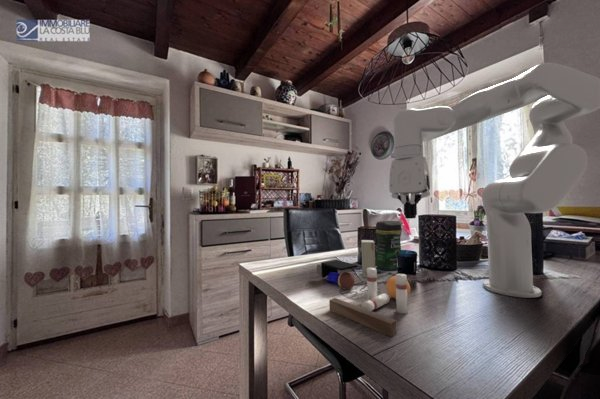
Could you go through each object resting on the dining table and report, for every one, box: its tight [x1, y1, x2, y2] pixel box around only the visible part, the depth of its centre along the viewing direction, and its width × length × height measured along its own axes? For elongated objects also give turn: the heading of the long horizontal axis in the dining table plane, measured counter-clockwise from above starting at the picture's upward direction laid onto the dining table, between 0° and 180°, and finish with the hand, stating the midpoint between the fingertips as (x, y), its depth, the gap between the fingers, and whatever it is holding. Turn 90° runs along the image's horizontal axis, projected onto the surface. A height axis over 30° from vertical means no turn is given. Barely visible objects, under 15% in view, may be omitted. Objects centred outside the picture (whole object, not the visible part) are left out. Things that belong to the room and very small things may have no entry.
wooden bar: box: [328, 297, 397, 338], centre depth 54 cm, size 2×16×2 cm, turn 40°
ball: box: [385, 275, 411, 300], centre depth 65 cm, size 6×6×6 cm
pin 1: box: [366, 267, 378, 300], centre depth 64 cm, size 2×2×8 cm
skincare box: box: [360, 239, 376, 279], centre depth 87 cm, size 6×4×12 cm
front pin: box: [360, 293, 390, 312], centre depth 60 cm, size 2×2×8 cm
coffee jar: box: [375, 220, 403, 271], centre depth 96 cm, size 10×8×19 cm
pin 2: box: [395, 273, 409, 315], centre depth 58 cm, size 2×2×8 cm
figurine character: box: [316, 259, 358, 290], centre depth 79 cm, size 7×8×15 cm
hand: (410, 218), depth 70 cm, fingers closed
